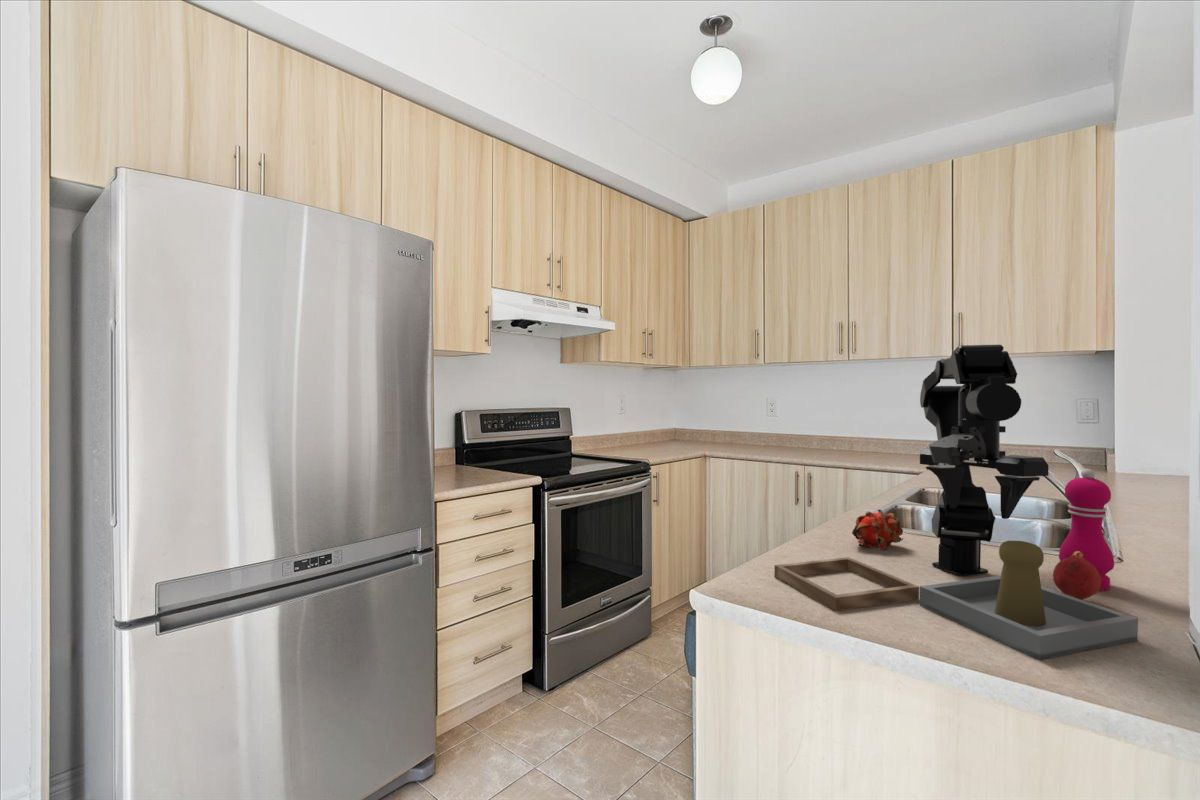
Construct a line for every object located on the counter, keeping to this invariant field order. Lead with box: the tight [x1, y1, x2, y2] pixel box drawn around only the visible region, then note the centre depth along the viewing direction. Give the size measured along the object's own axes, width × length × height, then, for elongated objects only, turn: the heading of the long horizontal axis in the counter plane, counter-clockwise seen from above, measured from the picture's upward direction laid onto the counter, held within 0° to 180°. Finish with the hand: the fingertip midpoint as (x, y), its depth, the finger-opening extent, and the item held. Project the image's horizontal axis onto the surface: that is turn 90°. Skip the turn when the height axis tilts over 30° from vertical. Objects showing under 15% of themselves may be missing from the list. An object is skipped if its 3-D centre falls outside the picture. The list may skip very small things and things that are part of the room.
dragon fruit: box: [851, 509, 904, 551], centre depth 118 cm, size 8×8×12 cm
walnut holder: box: [774, 556, 920, 612], centre depth 95 cm, size 16×16×2 cm
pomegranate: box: [1052, 551, 1101, 601], centre depth 88 cm, size 6×6×8 cm
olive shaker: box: [995, 540, 1046, 626], centre depth 81 cm, size 6×6×11 cm
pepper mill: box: [1058, 468, 1115, 591], centre depth 96 cm, size 7×7×20 cm
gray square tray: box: [919, 574, 1139, 661], centre depth 81 cm, size 18×18×3 cm
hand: (978, 513), depth 93 cm, fingers open, 9 cm apart
